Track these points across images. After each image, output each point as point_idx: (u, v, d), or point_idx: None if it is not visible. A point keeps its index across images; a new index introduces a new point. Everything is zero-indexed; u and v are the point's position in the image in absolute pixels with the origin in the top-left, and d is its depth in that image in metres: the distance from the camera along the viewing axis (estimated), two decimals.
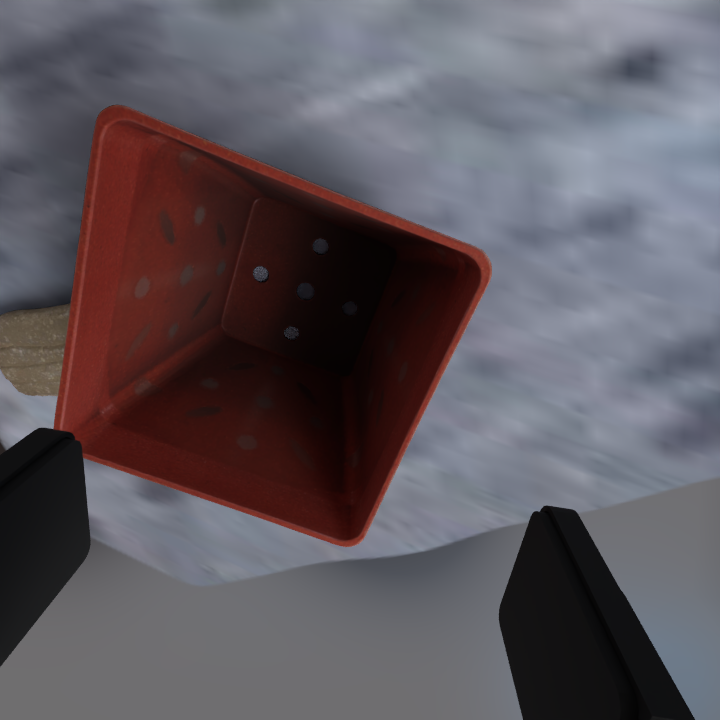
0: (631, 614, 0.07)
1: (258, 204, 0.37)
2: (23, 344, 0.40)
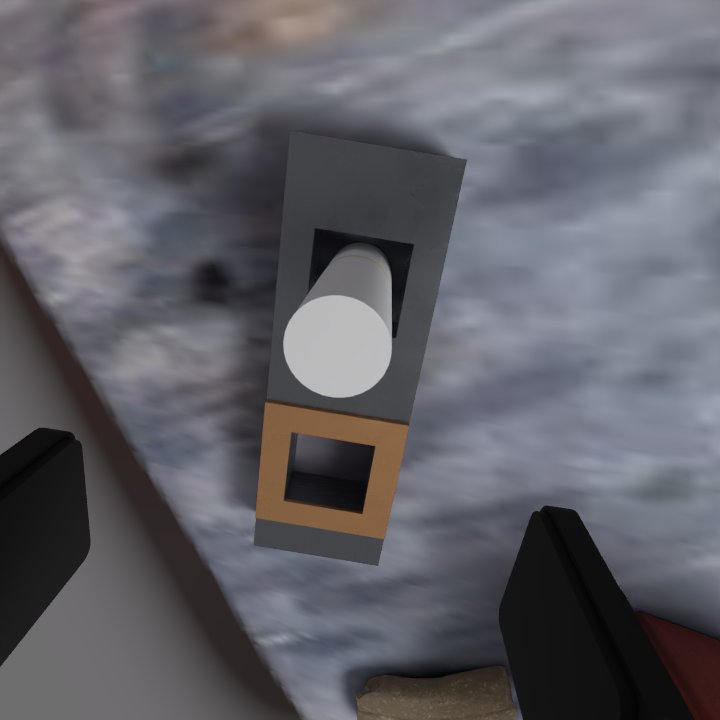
0: (631, 614, 0.07)
1: None
2: (394, 716, 0.45)
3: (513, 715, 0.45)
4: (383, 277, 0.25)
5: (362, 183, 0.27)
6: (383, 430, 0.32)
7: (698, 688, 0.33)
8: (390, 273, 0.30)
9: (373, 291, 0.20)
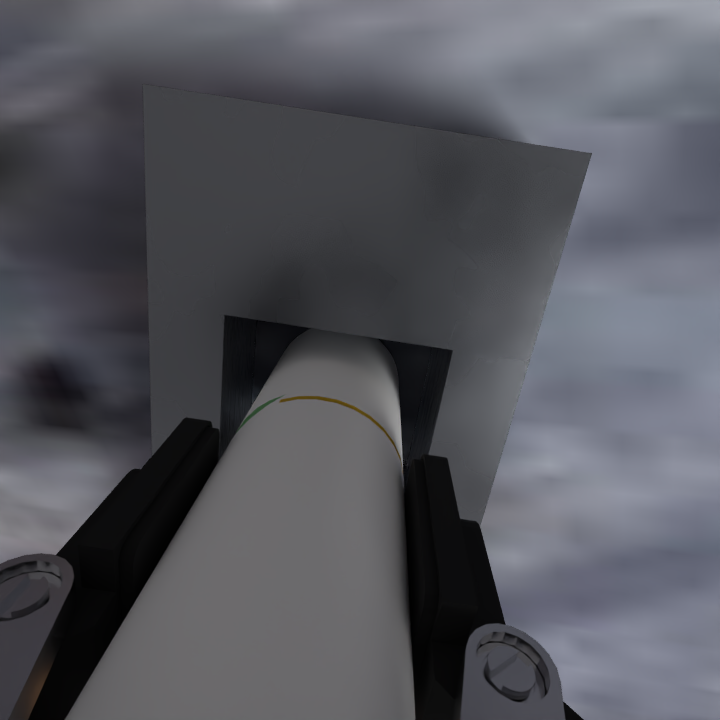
0: (460, 533, 0.08)
1: None
2: None
3: None
4: (383, 481, 0.09)
5: (330, 214, 0.11)
6: None
7: None
8: (398, 401, 0.14)
9: None
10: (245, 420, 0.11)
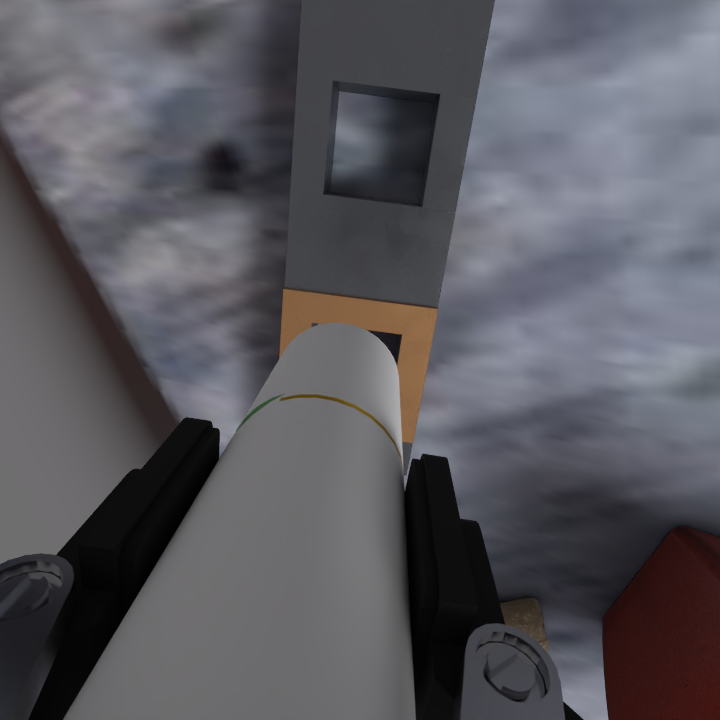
0: (460, 533, 0.08)
1: None
2: None
3: (546, 648, 0.43)
4: (383, 479, 0.09)
5: (383, 24, 0.25)
6: (410, 315, 0.30)
7: None
8: (398, 400, 0.14)
9: None
10: (245, 419, 0.11)
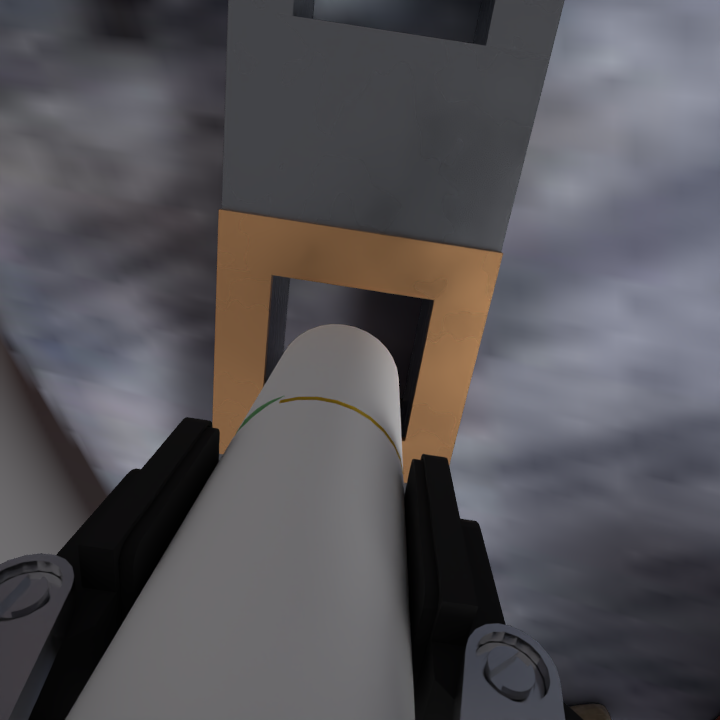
0: (460, 533, 0.08)
1: None
2: None
3: None
4: (383, 482, 0.09)
5: None
6: (450, 265, 0.17)
7: None
8: (398, 402, 0.14)
9: None
10: (245, 421, 0.11)
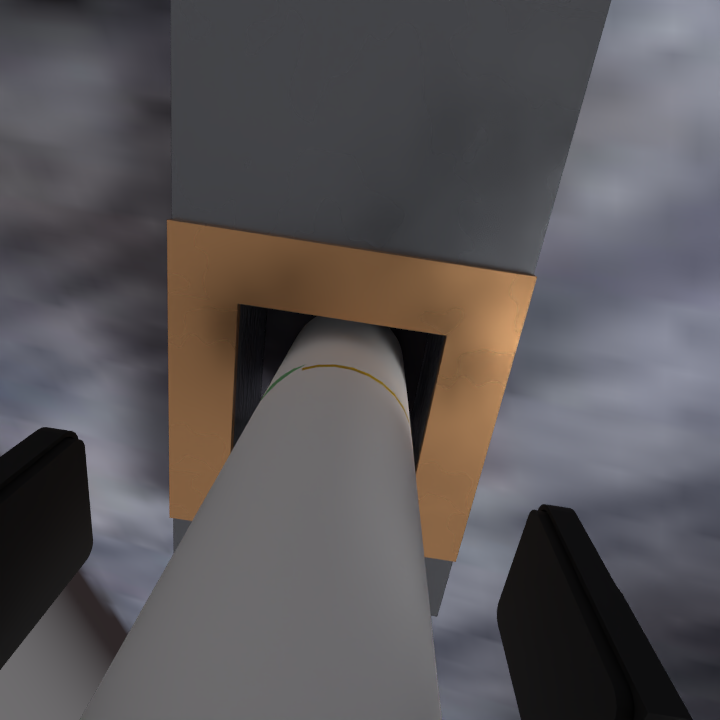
0: (628, 612, 0.07)
1: None
2: None
3: None
4: (396, 432, 0.10)
5: None
6: (469, 291, 0.13)
7: None
8: (404, 377, 0.15)
9: (377, 606, 0.06)
10: (269, 388, 0.12)
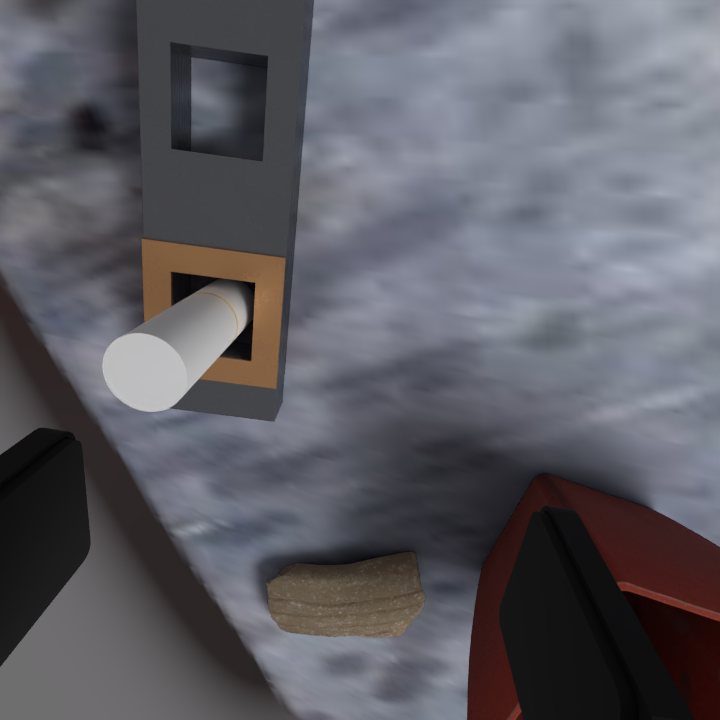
0: (631, 614, 0.07)
1: None
2: (303, 600, 0.45)
3: (421, 600, 0.45)
4: (219, 311, 0.30)
5: None
6: (260, 264, 0.33)
7: (582, 511, 0.34)
8: (246, 304, 0.35)
9: (185, 326, 0.26)
10: None
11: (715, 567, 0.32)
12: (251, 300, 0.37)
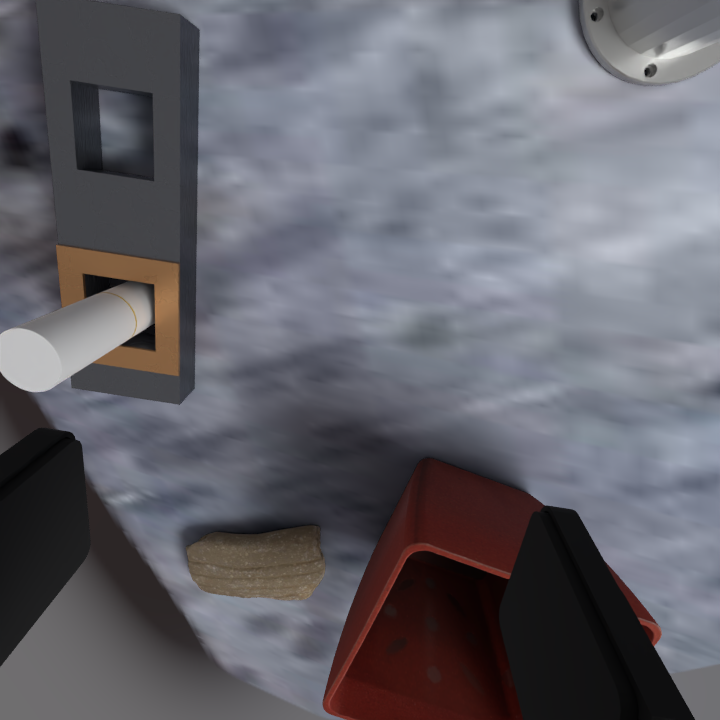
0: (631, 614, 0.07)
1: None
2: (217, 564, 0.51)
3: (322, 567, 0.51)
4: (114, 309, 0.36)
5: (101, 38, 0.33)
6: (157, 268, 0.38)
7: (432, 488, 0.39)
8: (151, 302, 0.40)
9: (68, 322, 0.31)
10: None
11: None
12: None
